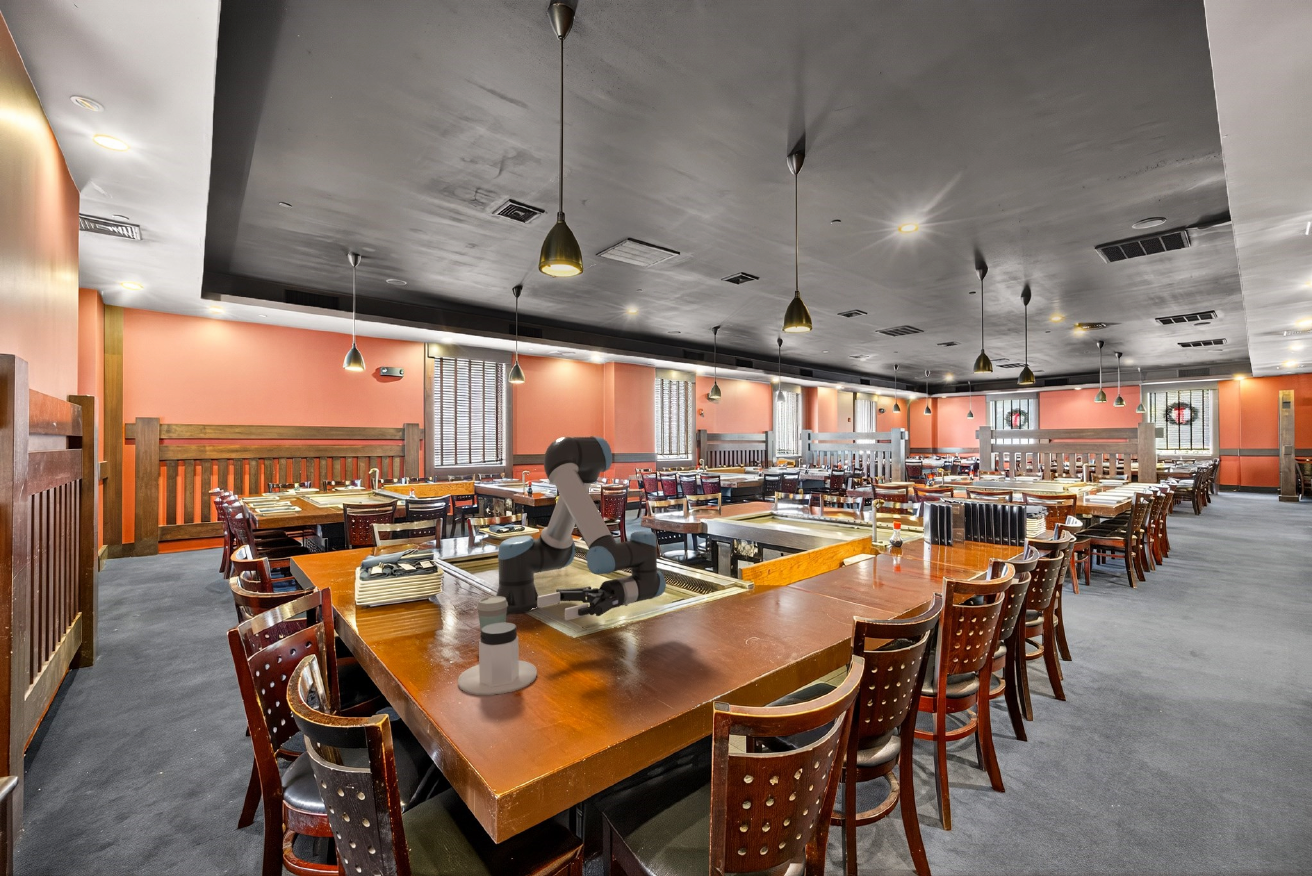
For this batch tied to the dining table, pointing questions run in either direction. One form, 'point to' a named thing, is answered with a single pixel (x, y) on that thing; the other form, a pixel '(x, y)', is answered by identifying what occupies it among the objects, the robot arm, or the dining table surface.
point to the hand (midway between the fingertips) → (551, 608)
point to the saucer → (472, 686)
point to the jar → (498, 654)
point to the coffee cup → (492, 610)
